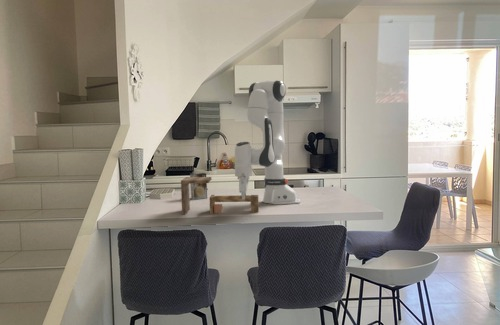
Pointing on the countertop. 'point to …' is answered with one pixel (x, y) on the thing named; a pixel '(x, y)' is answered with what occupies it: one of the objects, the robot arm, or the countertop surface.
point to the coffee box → (198, 187)
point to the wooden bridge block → (248, 198)
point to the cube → (217, 208)
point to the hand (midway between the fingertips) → (243, 198)
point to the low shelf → (185, 190)
